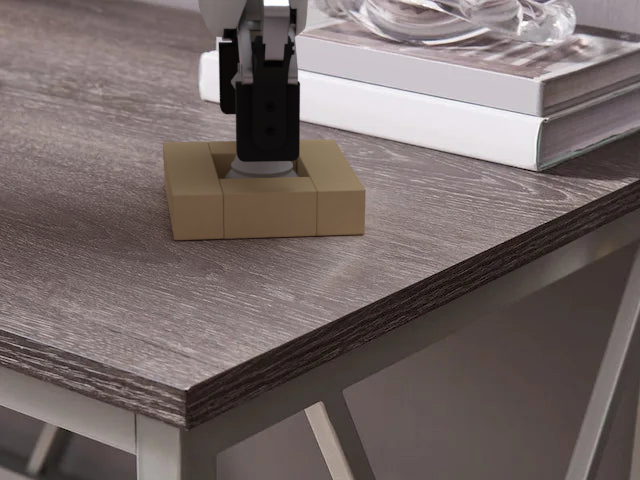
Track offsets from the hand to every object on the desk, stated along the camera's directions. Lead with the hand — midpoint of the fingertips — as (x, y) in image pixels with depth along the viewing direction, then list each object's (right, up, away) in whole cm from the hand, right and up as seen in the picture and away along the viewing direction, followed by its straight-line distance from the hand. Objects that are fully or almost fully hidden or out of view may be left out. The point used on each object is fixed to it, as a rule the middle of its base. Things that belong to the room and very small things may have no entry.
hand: (257, 134), depth 71 cm
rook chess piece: (0, -4, +2) cm, 4 cm away
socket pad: (0, -4, +2) cm, 4 cm away
